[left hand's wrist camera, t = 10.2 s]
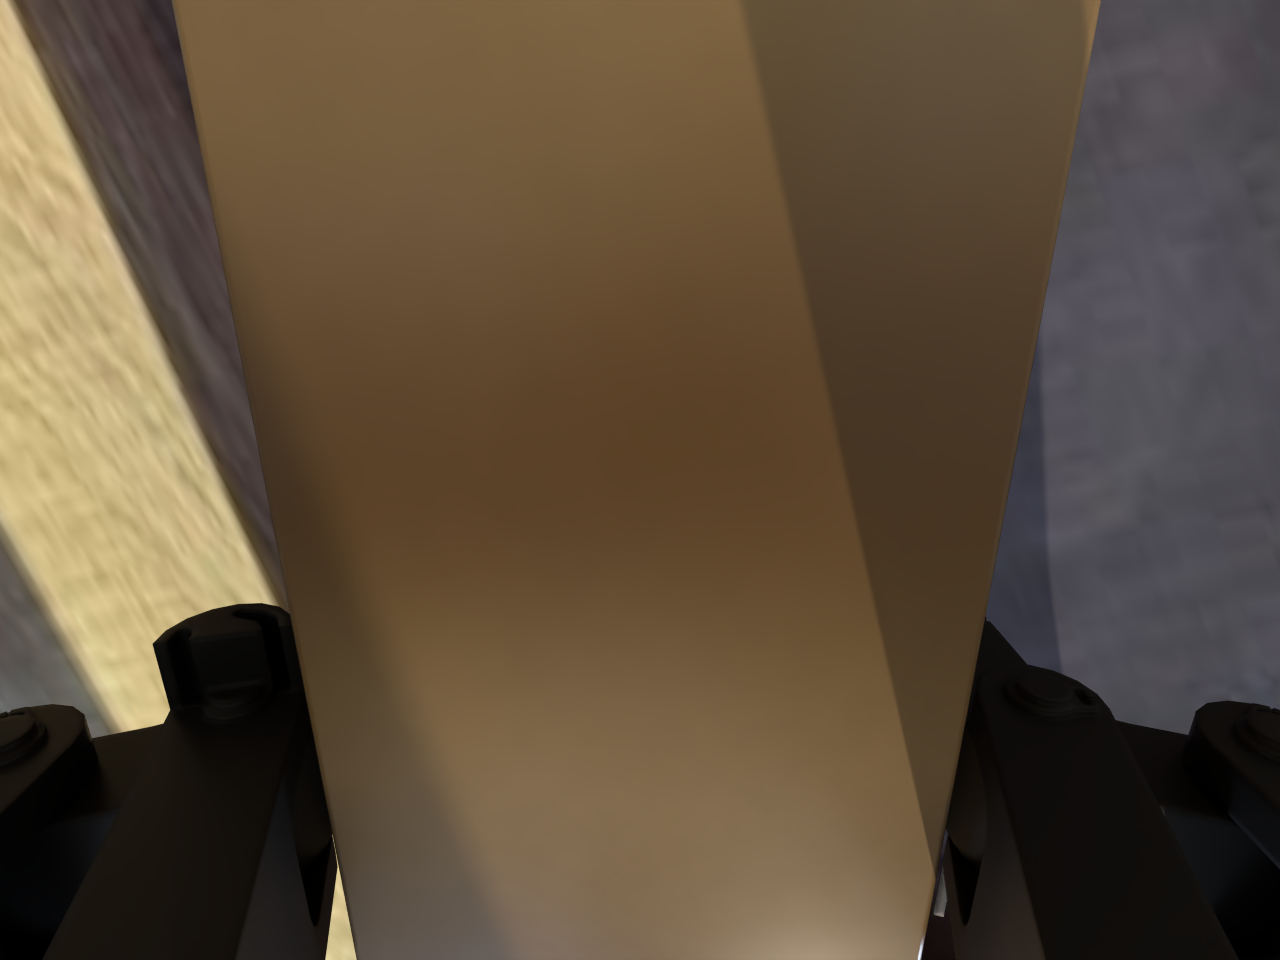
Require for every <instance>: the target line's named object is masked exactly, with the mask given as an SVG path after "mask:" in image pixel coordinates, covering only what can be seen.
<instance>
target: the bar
mask: <svg viewBox="0 0 1280 960" xmlns="http://www.w3.org/2000/svg"><path fill="white" fill-rule="evenodd" d="M1100 3H1101V0H172V5H173V10H174V15H175V20H176V25H177V30H178V36H179V41H180V46H181V51H182V56H183V62H184V67H185V72H186V77H187V82H188V87H189V93H190V98H191V103H192V108H193V113H194V119H195V124H196V129H197V134H198V139H199V144H200V150H201V155H202V160H203V165H204V170H205V176H206V181H207V186H208V191H209V196H210V201H211V207H212V212H213V217H214V222H215V227H216V233H217V238H218V243H219V248H220V253H221V258H222V264H223V269H224V274H225V279H226V284H227V290H228V295H229V300H230V305H231V310H232V315H233V321H234V326H235V331H236V336H237V341H238V347H239V352H240V357H241V362H242V367H243V372H244V378H245V383H246V388H247V393H248V398H249V404H250V409H251V414H252V419H253V424H254V429H255V435H256V440H257V445H258V450H259V455H260V461H261V466H262V471H263V476H264V481H265V486H266V492H267V497H268V502H269V507H270V512H271V518H272V523H273V528H274V533H275V538H276V543H277V549H278V554H279V559H280V564H281V569H282V575H283V580H284V585H285V590H286V595H287V600H288V606H289V611H290V616H291V621H292V626H293V632H294V637H295V642H296V647H297V652H298V657H299V663H300V668H301V673H302V678H303V683H304V689H305V694H306V699H307V704H308V709H309V714H310V720H311V725H312V730H313V735H314V740H315V746H316V751H317V756H318V761H319V766H320V771H321V777H322V782H323V787H324V792H325V797H326V803H327V808H328V813H329V818H330V823H331V828H332V834H333V839H334V844H335V849H336V854H337V860H338V865H339V870H340V875H341V880H342V885H343V891H344V896H345V901H346V906H347V911H348V917H349V922H350V927H351V932H352V937H353V942H354V948H355V953H356V958H357V960H921V956H922V950H923V945H924V940H925V934H926V929H927V924H928V918H929V913H930V908H931V902H932V897H933V892H934V886H935V881H936V876H937V870H938V865H939V860H940V855H941V849H942V844H943V839H944V833H945V828H946V823H947V817H948V812H949V807H950V801H951V796H952V791H953V785H954V780H955V775H956V769H957V764H958V759H959V753H960V748H961V743H962V737H963V732H964V727H965V721H966V716H967V711H968V705H969V700H970V695H971V689H972V684H973V679H974V673H975V668H976V663H977V658H978V652H979V647H980V642H981V636H982V631H983V626H984V620H985V615H986V610H987V604H988V599H989V594H990V588H991V583H992V578H993V572H994V567H995V562H996V556H997V551H998V546H999V540H1000V535H1001V530H1002V524H1003V519H1004V514H1005V508H1006V503H1007V498H1008V492H1009V487H1010V482H1011V476H1012V471H1013V466H1014V460H1015V455H1016V450H1017V445H1018V439H1019V434H1020V429H1021V423H1022V418H1023V413H1024V407H1025V402H1026V397H1027V391H1028V386H1029V381H1030V375H1031V370H1032V365H1033V359H1034V354H1035V349H1036V343H1037V338H1038V333H1039V327H1040V322H1041V317H1042V311H1043V306H1044V301H1045V295H1046V290H1047V285H1048V279H1049V274H1050V269H1051V263H1052V258H1053V253H1054V248H1055V242H1056V237H1057V232H1058V226H1059V221H1060V216H1061V210H1062V205H1063V200H1064V194H1065V189H1066V184H1067V178H1068V173H1069V168H1070V162H1071V157H1072V152H1073V146H1074V141H1075V136H1076V130H1077V125H1078V120H1079V114H1080V109H1081V104H1082V98H1083V93H1084V88H1085V82H1086V77H1087V72H1088V66H1089V61H1090V56H1091V50H1092V45H1093V40H1094V35H1095V29H1096V24H1097V19H1098V13H1099V8H1100Z"/></svg>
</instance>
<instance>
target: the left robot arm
mask: <svg viewBox="0 0 1280 960" xmlns="http://www.w3.org/2000/svg"><path fill="white" fill-rule="evenodd" d="M153 647H154V651H155V655H156V658H157V662H158V666H159V669H160V673H161V677H162V681H163V684H164V688H165V692H166V695H167V699H168V703H169V706H170V712H169V714H168V716H167V718H166V720H165V722H164V724H160V725H156V726H152V727H147V728H142V729H137V730H132V731H127V732H122V733H117V734H112V735H107V736H102V737H97V738H92V737H91V734H90V731H89V728H88V725H87V721H86V718H85V715H84V714H83V713H81V712H80V711H79V710H77V709H76V708H75V707H73V706H65V705H56V704H50V705H42V706H34V707H23V708H19V709H15V710H11V712H9V713H7V712H4V713H1V714H0V960H325V957H326V950H327V942H328V935H329V927H330V920H331V912H332V904H333V897H334V889H335V882H336V874H337V860H336V853H335V847H334V842H333V837H332V828H331V823H330V818H329V813H328V808H327V803H326V797H325V792H324V787H323V782H322V777H321V771H320V766H319V761H318V756H317V751H316V746H315V740H314V735H313V730H312V725H311V720H310V714H309V709H308V704H307V699H306V694H305V689H304V683H303V678H302V673H301V668H300V663H299V657H298V652H297V647H296V642H295V637H294V632H293V626H292V622H291V617H290V614H289V613H287V612H286V611H285V610H283V609H282V608H281V607H278V606H273V605H268V604H263V603H255V604H236V605H231V606H227V607H222V608H217V609H212V610H209V611H206V612H204V613H201V614H198V615H195V616H193V617H190V618H187V619H185V620H184V621H182V622H180V623H178V624H177V625H175V626H173V627H171V628H170V629H168V630H166V631H165V632H164V633H163V634H162V635H161V636H160V637H159V638H158V639H157V640H156V641H155V642H154V643H153ZM946 830H947V832H948V837H947V842H946V847H945V852H944V858H943V863H942V868H941V873H940V878H939V884H938V889H937V894H936V900H935V907H934V914H933V915H937V916H942V917H944V912H945V907H946V902H947V903H948V910H949V918H950V925H951V933H952V940H953V948H954V956H955V960H1280V710H1279V709H1276V708H1273V709H1270V707H1268V706H1264V705H1260V704H1254V703H1252V704H1250V703H1242V702H1235V701H1220V702H1212V703H1207V704H1205V705H1204V706H1202V707H1201V708H1200V709H1198V710H1197V711H1196V713H1195V716H1194V719H1193V722H1192V725H1191V729H1190V732H1189V735H1185V734H1180V733H1175V732H1170V731H1165V730H1160V729H1154V728H1149V727H1144V726H1139V725H1134V724H1129V723H1125V722H1121V721H1117V720H1115V718H1114V716H1113V715H1112V713H1111V711H1110V709H1109V708H1108V706H1107V705H1106V704H1105V703H1104V702H1103V700H1102V699H1101V698H1100V697H1099V696H1098V694H1096V693H1095V692H1093V691H1092V690H1090V689H1089V688H1087V687H1086V686H1084V685H1083V684H1081V683H1080V682H1078V681H1077V680H1074V679H1072V678H1070V677H1067V676H1065V675H1062V674H1060V673H1058V672H1055V671H1053V670H1048V669H1044V668H1040V667H1036V666H1032V665H1027V664H1026V662H1025V661H1024V660H1023V659H1022V658H1021V657H1020V656H1019V654H1018V653H1017V652H1016V651H1015V650H1014V649H1013V648H1012V646H1011V645H1010V644H1009V643H1008V642H1007V641H1006V639H1005V638H1004V637H1003V636H1002V635H1001V634H1000V633H999V631H998V630H997V629H996V628H995V627H994V626H993V625H992V623H991V622H990V621H987V620H986V616H985V620H984V626H983V631H982V636H981V642H980V647H979V652H978V658H977V663H976V668H975V673H974V679H973V684H972V689H971V695H970V700H969V705H968V711H967V716H966V721H965V727H964V732H963V737H962V743H961V748H960V753H959V759H958V764H957V769H956V775H955V780H954V785H953V791H952V796H951V801H950V807H949V812H948V817H947V823H946Z"/></svg>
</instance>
